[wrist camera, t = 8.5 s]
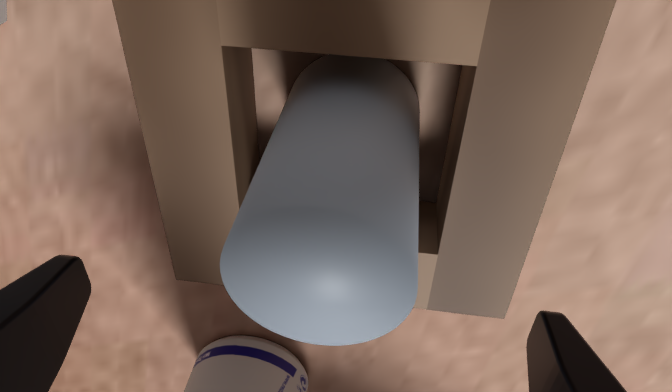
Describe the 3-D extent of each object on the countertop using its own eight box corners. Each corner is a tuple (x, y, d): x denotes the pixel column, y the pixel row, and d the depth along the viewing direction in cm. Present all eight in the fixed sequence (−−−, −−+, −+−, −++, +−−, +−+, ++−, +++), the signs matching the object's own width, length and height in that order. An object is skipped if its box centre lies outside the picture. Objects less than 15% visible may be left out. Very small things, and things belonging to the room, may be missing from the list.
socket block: (598, -72, 12) (632, -44, 10) (495, 263, 19) (504, 318, 17) (143, -98, 13) (94, -77, 11) (200, 231, 20) (176, 279, 18)
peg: (428, 56, 15) (431, 218, 9) (411, 173, 17) (405, 355, 12) (286, 45, 15) (208, 194, 10) (290, 161, 17) (229, 333, 12)
